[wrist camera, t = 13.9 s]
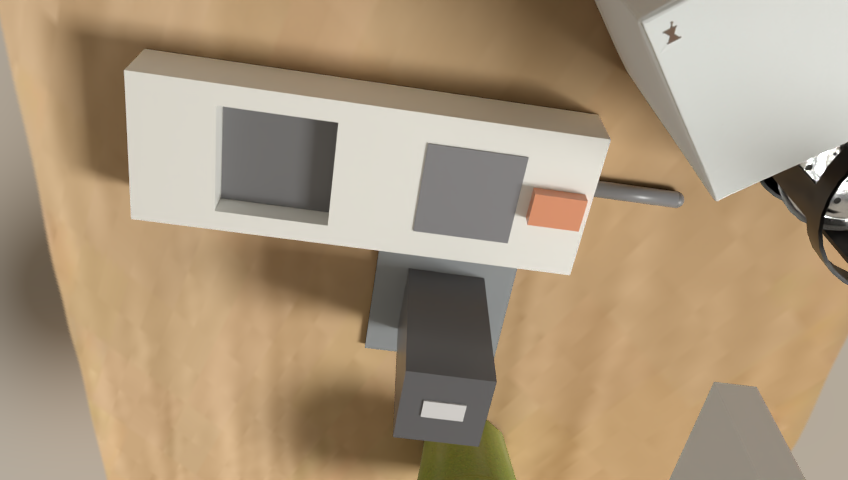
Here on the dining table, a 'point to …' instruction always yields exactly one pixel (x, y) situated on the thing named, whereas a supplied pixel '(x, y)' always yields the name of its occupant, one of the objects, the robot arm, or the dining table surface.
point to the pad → (396, 268)
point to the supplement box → (739, 80)
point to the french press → (818, 200)
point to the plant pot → (467, 459)
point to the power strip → (363, 163)
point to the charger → (443, 359)
